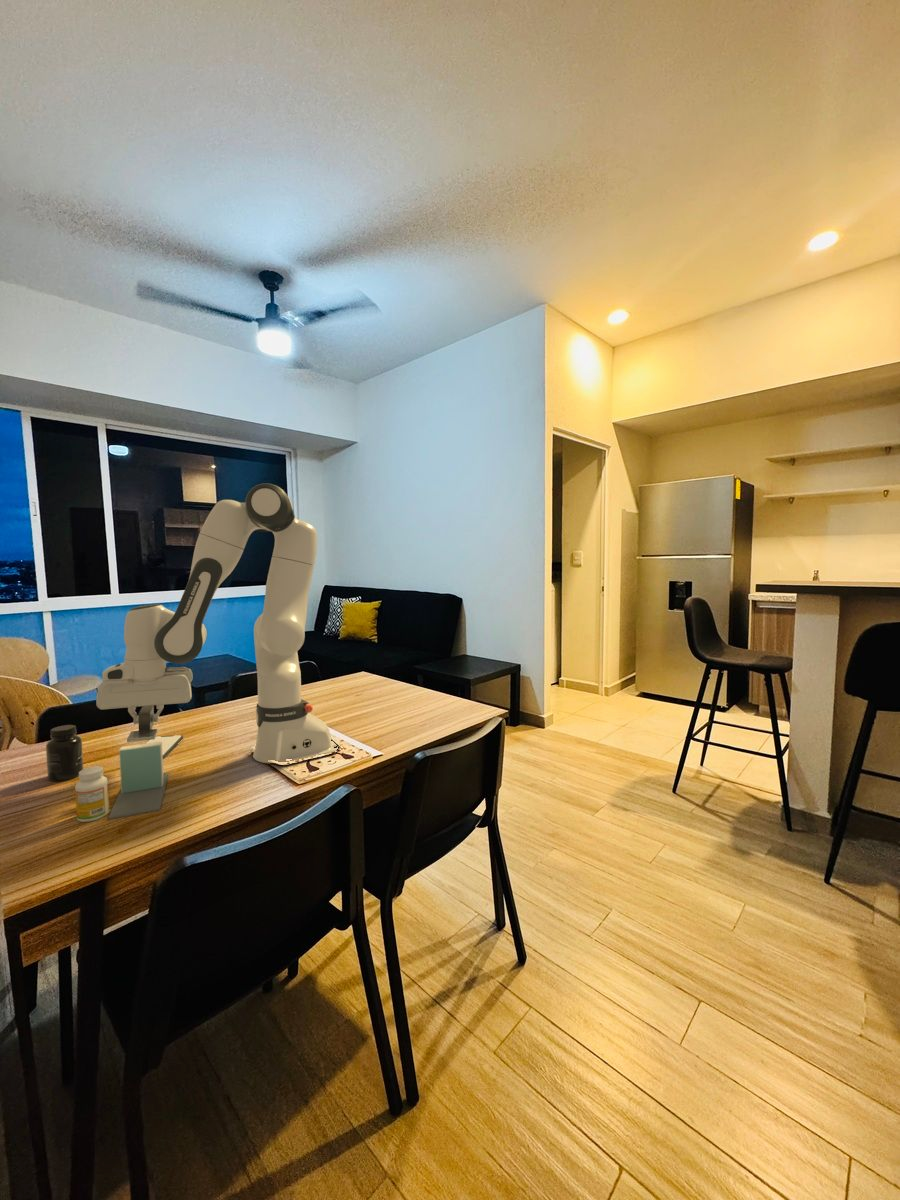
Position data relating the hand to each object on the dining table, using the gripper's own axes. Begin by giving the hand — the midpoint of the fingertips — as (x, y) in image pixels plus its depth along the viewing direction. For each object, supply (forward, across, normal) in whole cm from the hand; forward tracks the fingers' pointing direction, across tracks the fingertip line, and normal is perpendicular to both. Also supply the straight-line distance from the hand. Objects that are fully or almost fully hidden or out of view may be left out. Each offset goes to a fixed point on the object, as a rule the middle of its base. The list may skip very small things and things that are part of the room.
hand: (146, 722), depth 122 cm
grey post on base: (+2, 0, +3) cm, 3 cm away
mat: (+12, -1, +17) cm, 20 cm away
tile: (+11, -1, +14) cm, 18 cm away
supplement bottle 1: (+12, +17, -2) cm, 21 cm away
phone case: (+12, -1, -12) cm, 17 cm away
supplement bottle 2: (+12, +7, +23) cm, 27 cm away
